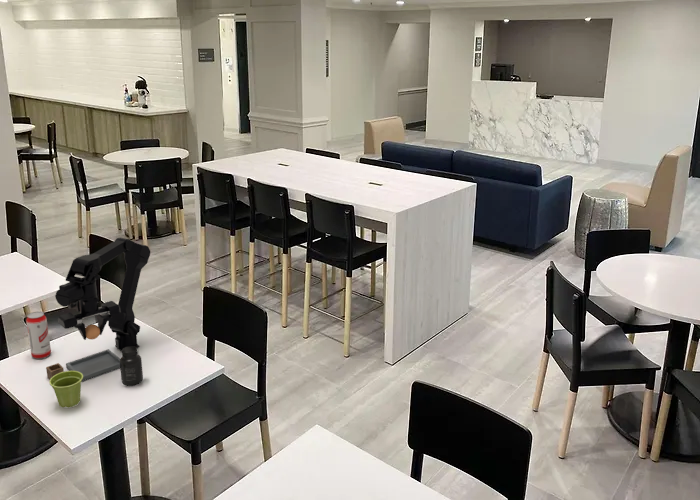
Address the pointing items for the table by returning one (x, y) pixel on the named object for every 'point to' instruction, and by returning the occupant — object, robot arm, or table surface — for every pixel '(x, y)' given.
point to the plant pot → (67, 387)
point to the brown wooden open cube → (54, 370)
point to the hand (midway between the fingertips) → (92, 336)
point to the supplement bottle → (131, 366)
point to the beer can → (38, 335)
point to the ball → (92, 331)
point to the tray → (95, 364)
